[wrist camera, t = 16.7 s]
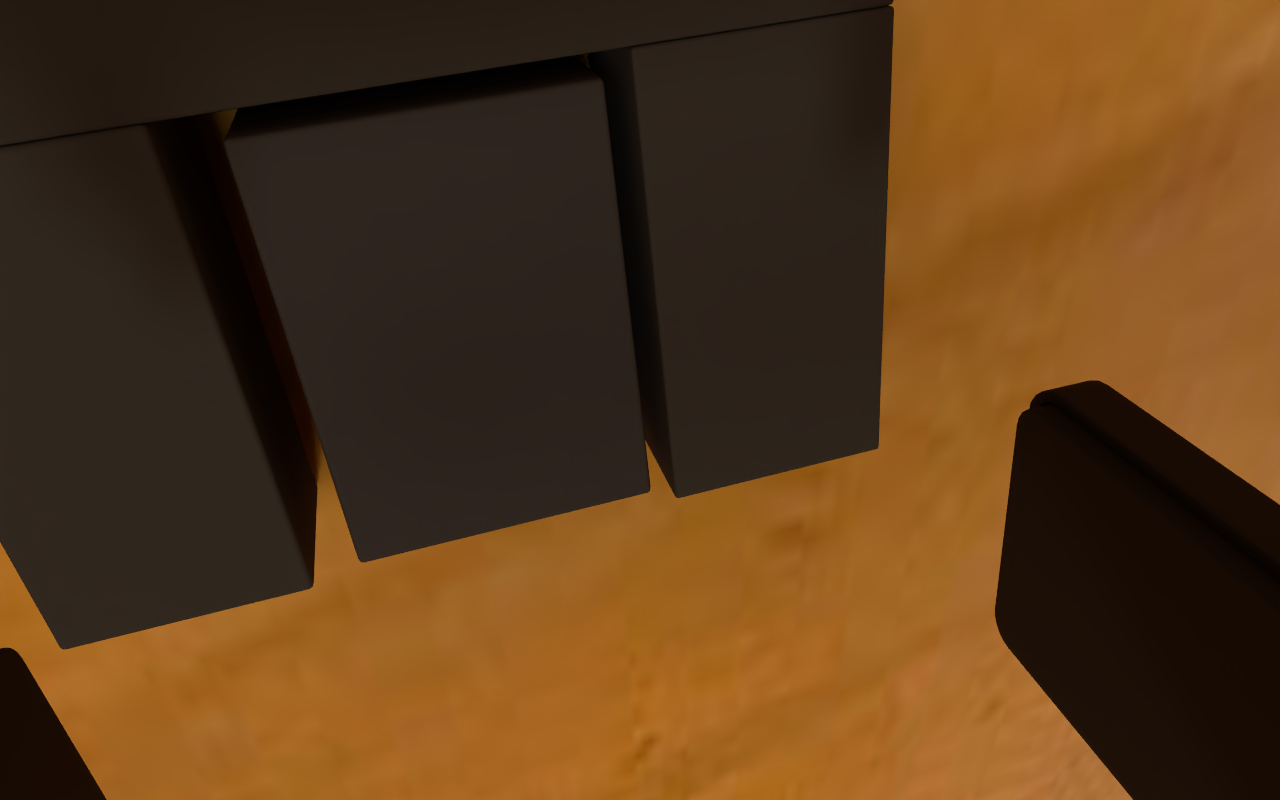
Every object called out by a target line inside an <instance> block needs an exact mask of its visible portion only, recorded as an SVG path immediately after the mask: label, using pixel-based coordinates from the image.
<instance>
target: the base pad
mask: <svg viewBox="0 0 1280 800" xmlns="http://www.w3.org/2000/svg"><path fill="white" fill-rule="evenodd" d="M892 3H893V0H0V542H1V544H2V546H3V548H4V549H5V551H6V553H7V555H8V556H9V558H10V560H11V562H12V563H13V565H14V567H15V569H16V570H17V572H18V574H19V576H20V578H21V579H22V581H23V583H24V585H25V586H26V588H27V590H28V592H29V593H30V595H31V597H32V599H33V600H34V602H35V604H36V606H37V607H38V609H39V611H40V613H41V614H42V616H43V618H44V620H45V622H46V623H47V625H48V627H49V629H50V630H51V632H52V634H53V636H54V637H55V639H56V641H57V643H58V644H59V646H60V648H62V649H69V648H73V647H77V646H81V645H85V644H89V643H93V642H97V641H101V640H105V639H109V638H113V637H117V636H121V635H125V634H129V633H133V632H138V631H142V630H146V629H150V628H154V627H158V626H162V625H166V624H170V623H174V622H178V621H182V620H186V619H190V618H194V617H198V616H202V615H206V614H210V613H214V612H218V611H222V610H226V609H230V608H234V607H238V606H242V605H246V604H250V603H254V602H258V601H262V600H267V599H271V598H275V597H279V596H283V595H287V594H291V593H295V592H299V591H303V590H307V589H310V588H311V587H312V586H313V583H314V560H315V534H316V508H317V485H316V482H315V479H314V476H313V473H312V470H311V467H310V464H309V461H308V459H307V456H306V453H305V450H304V447H303V444H302V441H301V438H300V435H299V432H298V429H297V426H296V423H295V420H294V417H293V414H292V411H291V408H290V405H289V402H288V399H287V396H286V393H285V390H284V387H283V384H282V381H281V378H280V375H279V372H278V370H277V367H276V364H275V361H274V358H273V355H272V352H271V349H270V346H269V343H268V340H267V337H266V334H265V331H264V328H263V325H262V322H261V319H260V316H259V313H258V310H257V307H256V304H255V301H254V298H253V295H252V292H251V289H250V286H249V283H248V281H247V278H246V275H245V272H244V269H243V266H242V263H241V260H240V257H239V254H238V251H237V248H236V245H235V242H234V239H233V236H232V233H231V230H230V227H229V224H228V221H227V218H226V215H225V212H224V209H223V206H222V203H221V200H220V197H219V194H218V192H217V189H216V186H215V183H214V180H213V177H212V174H211V171H210V168H209V165H208V162H207V159H206V156H205V153H204V150H203V147H202V144H201V141H200V138H199V135H198V132H197V129H196V126H195V123H194V120H193V117H192V116H193V115H199V114H205V113H212V112H218V111H224V110H231V109H237V108H243V107H250V106H256V105H262V104H269V103H275V102H281V101H288V100H294V99H300V98H307V97H313V96H320V95H326V94H332V93H339V92H345V91H351V90H358V89H364V88H370V87H377V86H383V85H389V84H396V83H402V82H408V81H415V80H421V79H427V78H434V77H440V76H446V75H453V74H459V73H465V72H472V71H478V70H484V69H491V68H497V67H503V66H510V65H516V64H522V63H529V62H535V61H541V60H548V59H554V58H561V57H567V56H573V55H580V54H586V53H589V61H590V70H591V71H593V72H594V73H595V74H596V75H598V76H599V77H600V78H601V79H602V80H603V82H604V89H605V98H606V106H607V115H608V124H609V132H610V141H611V150H612V158H613V167H614V176H615V184H616V193H617V202H618V210H619V219H620V228H621V236H622V245H623V254H624V262H625V271H626V280H627V288H628V297H629V305H630V314H631V323H632V331H633V340H634V349H635V357H636V366H637V375H638V383H639V392H640V401H641V409H642V418H643V427H644V435H645V440H646V442H647V444H648V446H649V448H650V449H651V451H652V453H653V455H654V457H655V459H656V461H657V463H658V465H659V466H660V468H661V470H662V472H663V474H664V476H665V478H666V480H667V482H668V483H669V485H670V487H671V489H672V491H673V493H674V495H675V496H676V498H681V497H685V496H689V495H693V494H697V493H701V492H705V491H709V490H713V489H717V488H721V487H725V486H729V485H733V484H737V483H741V482H745V481H749V480H753V479H757V478H761V477H765V476H769V475H774V474H778V473H782V472H786V471H790V470H794V469H798V468H802V467H806V466H810V465H814V464H818V463H822V462H826V461H830V460H834V459H838V458H842V457H846V456H850V455H854V454H858V453H862V452H866V451H870V450H874V449H877V448H878V446H879V418H880V389H881V361H882V332H883V304H884V275H885V246H886V218H887V189H888V161H889V132H890V104H891V75H892V47H893V18H894V9H893V7H892V6H888V5H890V4H892Z"/></svg>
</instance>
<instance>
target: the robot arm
mask: <svg viewBox="0 0 1280 800" xmlns="http://www.w3.org/2000/svg"><path fill="white" fill-rule="evenodd" d="M995 618H996V623H997V627H998V630H999V633H1000V635H1001V637H1002V639H1003V641H1004V642H1005V644H1006V645H1007V647H1008V648H1009V649H1010V650H1011V652H1012V653H1013V654H1014V655H1015V656H1016V658H1017V659H1018V660H1019V661H1020V663H1021V664H1022V665H1023V666H1024V667H1025V669H1026V670H1027V671H1028V672H1029V674H1030V675H1031V676H1032V677H1033V678H1034V680H1035V681H1036V682H1037V683H1038V684H1039V686H1040V687H1041V688H1042V689H1043V691H1044V692H1045V693H1046V694H1047V695H1048V697H1049V698H1050V699H1051V700H1052V701H1053V703H1054V704H1055V705H1056V706H1057V708H1058V709H1059V710H1060V711H1061V712H1062V714H1063V715H1064V716H1065V717H1066V718H1067V720H1068V721H1069V722H1070V723H1071V725H1072V726H1073V727H1074V728H1075V729H1076V731H1077V732H1078V733H1079V734H1080V736H1081V737H1082V738H1083V739H1084V740H1085V742H1086V743H1087V744H1088V745H1089V746H1090V748H1091V749H1092V750H1093V751H1094V753H1095V754H1096V755H1097V756H1098V757H1099V759H1100V760H1101V761H1102V762H1103V763H1104V765H1105V766H1106V767H1107V768H1108V770H1109V771H1110V772H1111V773H1112V774H1113V776H1114V777H1115V778H1116V779H1117V780H1118V782H1119V783H1120V784H1121V785H1122V787H1123V788H1124V789H1125V790H1126V791H1127V793H1128V794H1129V795H1130V796H1131V797H1132V799H1133V800H1280V505H1279V504H1278V503H1276V502H1275V501H1273V500H1272V499H1270V498H1269V497H1267V496H1266V495H1265V494H1263V493H1262V492H1260V491H1259V490H1257V489H1256V488H1255V487H1253V486H1252V485H1250V484H1249V483H1247V482H1246V481H1245V480H1243V479H1242V478H1240V477H1239V476H1237V475H1236V474H1234V473H1233V472H1232V471H1230V470H1229V469H1227V468H1226V467H1224V466H1223V465H1222V464H1220V463H1219V462H1217V461H1216V460H1214V459H1213V458H1212V457H1210V456H1209V455H1207V454H1206V453H1204V452H1203V451H1202V450H1200V449H1199V448H1197V447H1196V446H1194V445H1193V444H1191V443H1190V442H1189V441H1187V440H1186V439H1184V438H1183V437H1181V436H1180V435H1179V434H1177V433H1176V432H1174V431H1173V430H1171V429H1170V428H1169V427H1167V426H1166V425H1164V424H1163V423H1161V422H1160V421H1158V420H1157V419H1156V418H1154V417H1153V416H1151V415H1150V414H1148V413H1147V412H1146V411H1144V410H1143V409H1141V408H1140V407H1138V406H1137V405H1136V404H1134V403H1133V402H1131V401H1130V400H1128V399H1127V398H1126V397H1124V396H1123V395H1121V394H1120V393H1118V392H1117V391H1115V390H1114V389H1113V388H1111V387H1110V386H1108V385H1107V384H1104V383H1102V382H1100V381H1085V382H1081V383H1077V384H1072V385H1068V386H1064V387H1059V388H1055V389H1051V390H1046V391H1042V392H1040V393H1039V394H1037V395H1036V396H1035V397H1034V399H1033V400H1032V402H1031V404H1030V408H1029V410H1026V411H1024V412H1022V414H1021V415H1020V417H1019V419H1018V423H1017V430H1016V438H1015V446H1014V455H1013V463H1012V471H1011V480H1010V488H1009V497H1008V505H1007V513H1006V522H1005V530H1004V539H1003V547H1002V555H1001V564H1000V572H999V580H998V589H997V597H996V606H995ZM0 800H106V798H105V796H104V795H103V793H102V791H101V790H100V788H99V786H98V785H97V783H96V781H95V780H94V778H93V776H92V775H91V773H90V771H89V769H88V768H87V766H86V764H85V763H84V761H83V759H82V758H81V756H80V754H79V753H78V751H77V749H76V748H75V746H74V744H73V743H72V741H71V739H70V738H69V736H68V734H67V733H66V731H65V729H64V728H63V726H62V724H61V723H60V721H59V719H58V718H57V716H56V714H55V713H54V711H53V709H52V707H51V706H50V704H49V702H48V701H47V699H46V697H45V696H44V694H43V692H42V691H41V689H40V687H39V686H38V684H37V682H36V681H35V679H34V677H33V676H32V674H31V672H30V671H29V669H28V667H27V666H26V664H25V662H24V661H23V659H22V658H21V656H20V655H19V654H18V653H17V652H16V651H15V650H13V649H11V648H1V649H0Z"/></svg>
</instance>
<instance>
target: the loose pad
mask: <svg viewBox="0 0 1280 800" xmlns="http://www.w3.org/2000/svg"><path fill="white" fill-rule="evenodd" d="M224 147H225V150H226V153H227V156H228V159H229V162H230V165H231V169H232V172H233V175H234V178H235V181H236V184H237V187H238V190H239V193H240V196H241V199H242V202H243V205H244V209H245V212H246V215H247V218H248V221H249V224H250V227H251V230H252V233H253V236H254V239H255V242H256V245H257V249H258V252H259V255H260V258H261V261H262V264H263V267H264V270H265V273H266V276H267V279H268V282H269V285H270V289H271V292H272V295H273V298H274V301H275V304H276V307H277V310H278V313H279V316H280V319H281V322H282V325H283V328H284V332H285V335H286V338H287V341H288V344H289V347H290V350H291V353H292V356H293V359H294V362H295V365H296V368H297V372H298V375H299V378H300V381H301V384H302V387H303V390H304V393H305V396H306V399H307V402H308V405H309V408H310V412H311V415H312V418H313V421H314V424H315V427H316V430H317V433H318V436H319V439H320V442H321V445H322V448H323V452H324V455H325V458H326V461H327V464H328V467H329V470H330V473H331V476H332V479H333V482H334V485H335V488H336V491H337V495H338V498H339V501H340V504H341V507H342V510H343V513H344V516H345V519H346V522H347V525H348V528H349V531H350V535H351V538H352V541H353V544H354V547H355V550H356V553H357V556H358V559H359V560H360V561H361V562H368V561H372V560H376V559H380V558H384V557H388V556H392V555H396V554H400V553H404V552H408V551H412V550H416V549H420V548H424V547H428V546H433V545H437V544H441V543H445V542H449V541H453V540H457V539H461V538H465V537H469V536H473V535H477V534H481V533H485V532H489V531H493V530H498V529H502V528H506V527H510V526H514V525H518V524H522V523H526V522H530V521H534V520H538V519H542V518H546V517H550V516H554V515H559V514H563V513H567V512H571V511H575V510H579V509H583V508H587V507H591V506H595V505H599V504H603V503H607V502H611V501H615V500H619V499H624V498H628V497H632V496H636V495H640V494H644V493H648V492H649V491H650V479H649V470H648V461H647V453H646V444H645V435H644V427H643V418H642V409H641V401H640V392H639V383H638V375H637V366H636V357H635V349H634V340H633V331H632V323H631V314H630V305H629V297H628V288H627V280H626V271H625V262H624V254H623V245H622V236H621V228H620V219H619V210H618V202H617V193H616V184H615V176H614V167H613V158H612V150H611V141H610V132H609V124H608V115H607V106H606V98H605V89H604V82H603V80H602V79H601V78H600V77H599V76H598V75H596V74H595V73H594V72H593V71H591V70H590V69H589V68H588V67H587V66H585V65H584V64H583V63H582V62H580V61H579V60H578V59H577V58H576V57H574V56H567V57H561V58H554V59H548V60H541V61H535V62H529V63H522V64H516V65H510V66H503V67H497V68H491V69H484V70H478V71H472V72H465V73H459V74H453V75H446V76H440V77H434V78H427V79H421V80H415V81H408V82H402V83H396V84H389V85H383V86H377V87H370V88H364V89H358V90H351V91H345V92H339V93H332V94H326V95H320V96H313V97H307V98H300V99H294V100H288V101H281V102H275V103H269V104H262V105H256V106H250V107H243V108H238V109H237V112H236V114H235V116H234V119H233V121H232V123H231V126H230V128H229V130H228V133H227V135H226V138H225V140H224Z"/></svg>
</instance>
